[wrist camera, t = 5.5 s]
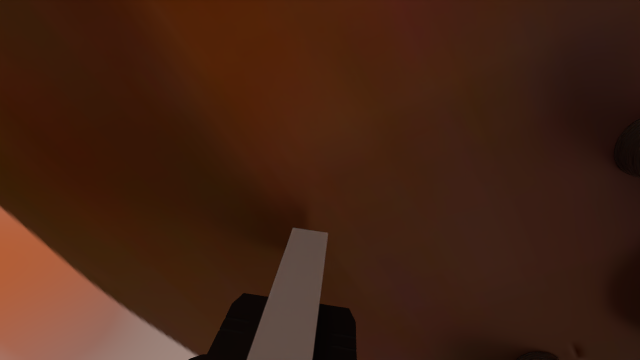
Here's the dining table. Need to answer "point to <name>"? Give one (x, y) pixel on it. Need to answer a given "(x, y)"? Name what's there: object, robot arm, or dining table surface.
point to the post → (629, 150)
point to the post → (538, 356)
